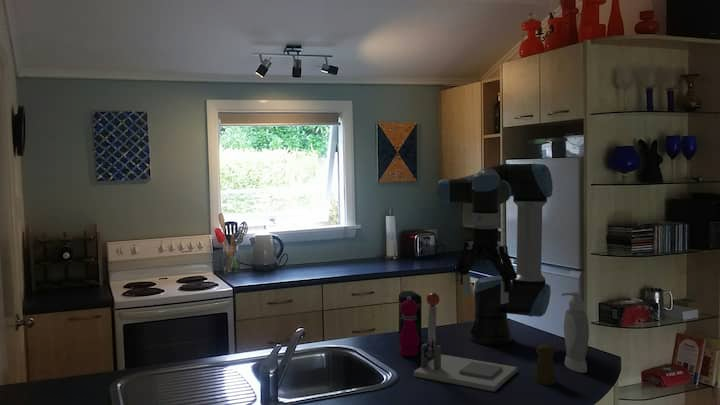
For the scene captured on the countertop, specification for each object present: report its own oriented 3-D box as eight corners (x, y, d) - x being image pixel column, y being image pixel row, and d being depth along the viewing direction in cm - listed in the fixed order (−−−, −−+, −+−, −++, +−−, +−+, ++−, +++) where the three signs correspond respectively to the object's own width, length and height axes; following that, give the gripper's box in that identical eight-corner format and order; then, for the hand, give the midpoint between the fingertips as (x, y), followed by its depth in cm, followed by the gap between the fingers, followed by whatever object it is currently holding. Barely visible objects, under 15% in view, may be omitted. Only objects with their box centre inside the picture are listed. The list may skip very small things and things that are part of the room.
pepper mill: (396, 355, 221) (395, 297, 220) (402, 349, 228) (402, 293, 227) (416, 357, 219) (416, 298, 217) (422, 351, 225) (422, 294, 224)
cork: (556, 385, 191) (557, 348, 190) (535, 384, 192) (535, 347, 191) (554, 378, 197) (555, 342, 196) (534, 377, 198) (534, 342, 197)
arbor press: (441, 358, 217) (441, 333, 216) (516, 371, 203) (517, 345, 203) (413, 376, 200) (413, 349, 199) (494, 391, 186) (494, 362, 186)
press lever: (427, 356, 206) (430, 291, 206) (439, 358, 204) (441, 292, 204) (422, 358, 202) (424, 292, 202) (433, 360, 200) (436, 294, 200)
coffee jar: (424, 345, 232) (424, 294, 231) (402, 346, 231) (402, 295, 230) (417, 337, 242) (417, 288, 241) (396, 339, 241) (396, 289, 239)
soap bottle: (550, 363, 211) (551, 289, 210) (571, 361, 213) (572, 288, 211) (572, 376, 199) (573, 297, 197) (594, 374, 200) (596, 296, 199)
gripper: (443, 225, 194) (443, 294, 196) (514, 231, 176) (513, 308, 178) (459, 223, 199) (459, 291, 201) (530, 229, 181) (529, 304, 183)
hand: (485, 299), depth 189 cm, fingers open, 13 cm apart
